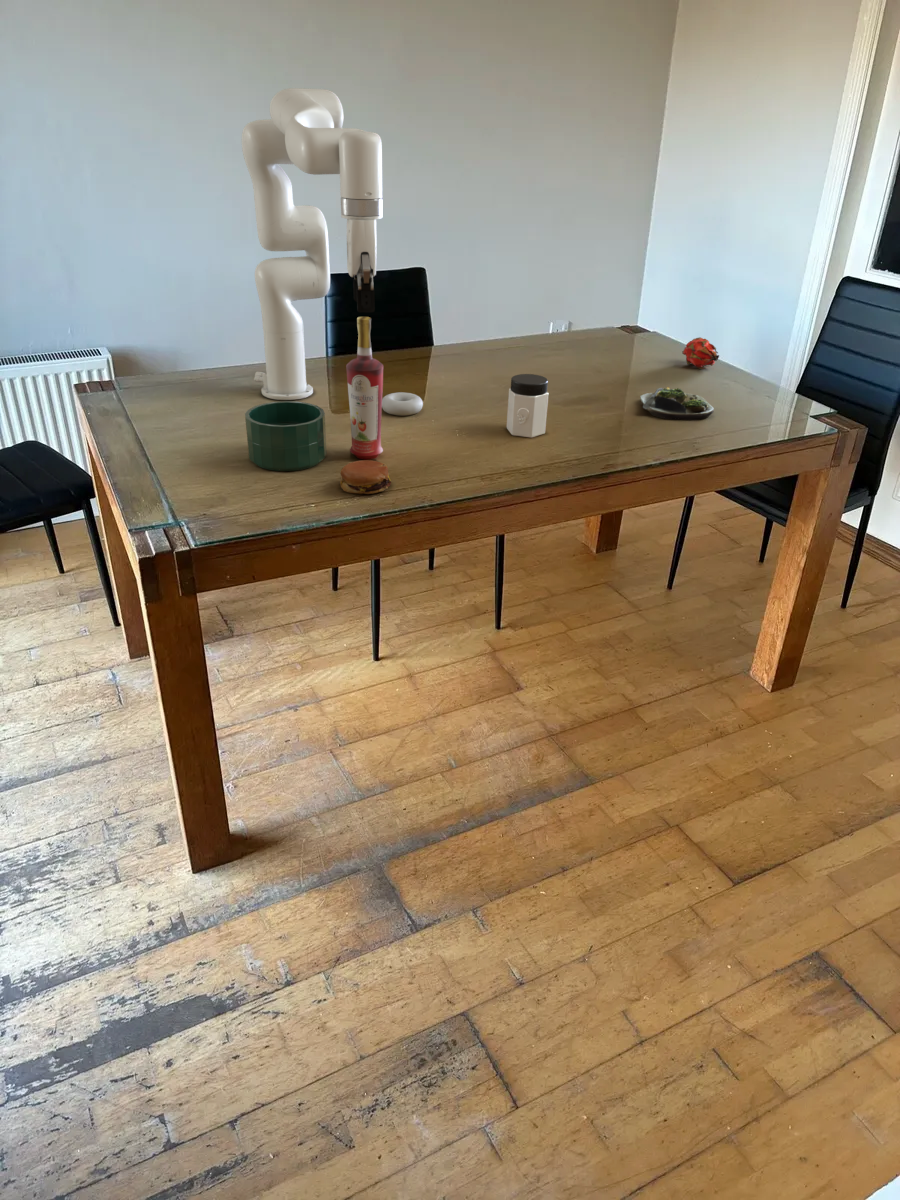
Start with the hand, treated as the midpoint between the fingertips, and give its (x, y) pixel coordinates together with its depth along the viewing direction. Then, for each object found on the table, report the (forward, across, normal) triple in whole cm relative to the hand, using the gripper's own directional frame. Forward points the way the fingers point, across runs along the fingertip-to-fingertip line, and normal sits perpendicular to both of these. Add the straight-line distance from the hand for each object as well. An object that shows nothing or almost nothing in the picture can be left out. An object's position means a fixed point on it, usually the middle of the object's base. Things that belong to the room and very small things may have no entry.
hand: (364, 306), depth 166 cm
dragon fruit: (+30, -62, +100) cm, 122 cm away
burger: (+31, +16, -2) cm, 35 cm away
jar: (+30, -13, +37) cm, 49 cm away
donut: (+30, -29, +10) cm, 43 cm away
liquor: (+30, 0, 0) cm, 30 cm away
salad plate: (+31, -25, +78) cm, 87 cm away
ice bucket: (+30, 0, -16) cm, 34 cm away
